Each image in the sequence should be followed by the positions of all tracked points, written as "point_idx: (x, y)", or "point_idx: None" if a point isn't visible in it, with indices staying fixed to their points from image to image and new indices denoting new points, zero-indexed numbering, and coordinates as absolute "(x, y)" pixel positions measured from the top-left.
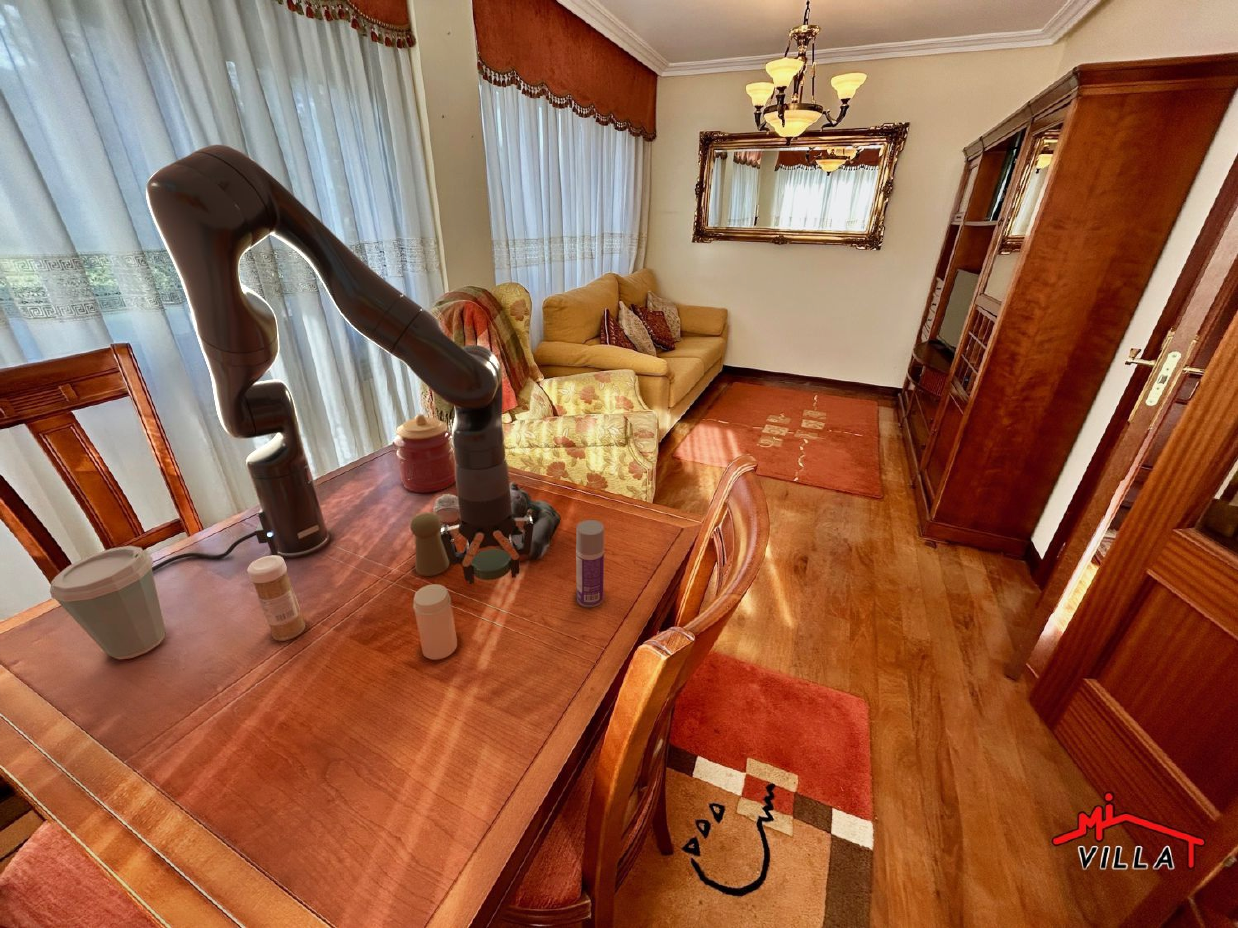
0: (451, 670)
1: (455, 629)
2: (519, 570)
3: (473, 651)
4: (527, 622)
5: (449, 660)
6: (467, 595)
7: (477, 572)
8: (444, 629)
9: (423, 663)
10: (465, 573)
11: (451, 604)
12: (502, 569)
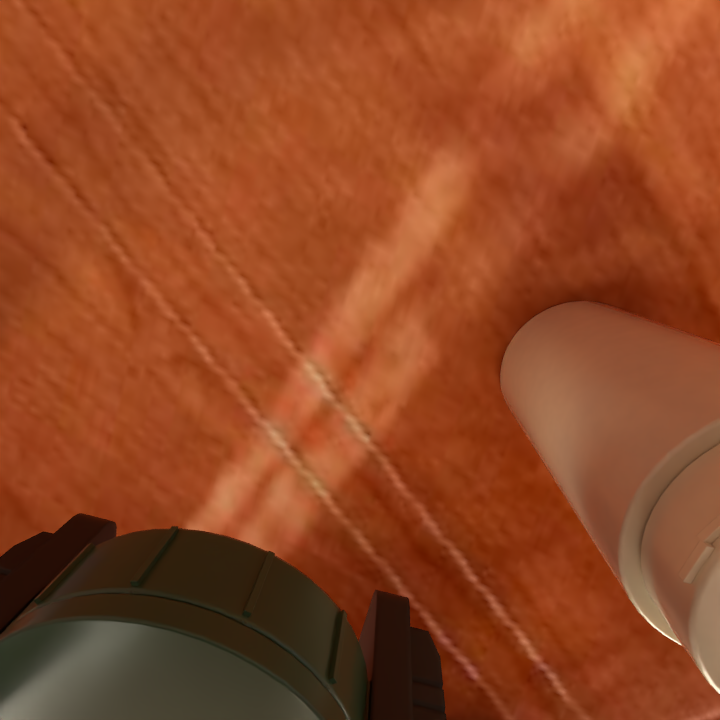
0: (578, 214)
1: (520, 387)
2: (11, 550)
3: (458, 277)
4: (201, 329)
5: (566, 276)
6: (385, 578)
7: (335, 679)
8: (641, 341)
9: (667, 312)
10: (432, 711)
11: (603, 468)
12: (64, 600)
